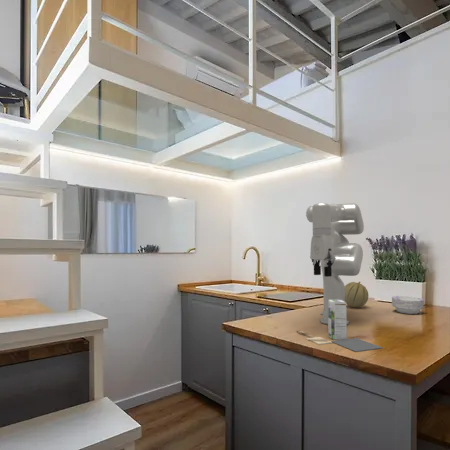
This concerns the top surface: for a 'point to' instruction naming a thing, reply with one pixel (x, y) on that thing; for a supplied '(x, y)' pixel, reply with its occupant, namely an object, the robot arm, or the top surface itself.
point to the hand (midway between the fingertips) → (322, 275)
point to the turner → (314, 338)
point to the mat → (356, 345)
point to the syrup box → (337, 320)
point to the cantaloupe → (355, 294)
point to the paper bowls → (407, 304)
